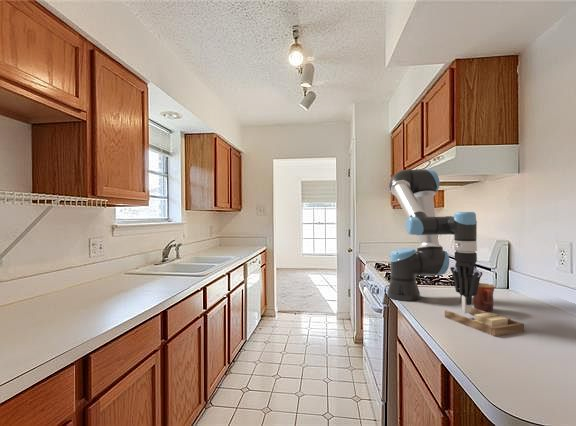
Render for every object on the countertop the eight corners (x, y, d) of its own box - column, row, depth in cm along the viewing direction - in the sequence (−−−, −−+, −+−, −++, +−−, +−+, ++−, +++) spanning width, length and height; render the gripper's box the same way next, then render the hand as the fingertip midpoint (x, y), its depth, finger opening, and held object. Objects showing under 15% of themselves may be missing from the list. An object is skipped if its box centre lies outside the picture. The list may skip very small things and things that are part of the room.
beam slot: (444, 317, 124) (444, 309, 124) (471, 313, 128) (471, 306, 128) (494, 336, 104) (494, 327, 104) (524, 331, 108) (524, 323, 108)
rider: (474, 325, 115) (474, 314, 115) (489, 323, 117) (489, 312, 117) (492, 332, 108) (491, 319, 108) (507, 329, 110) (507, 317, 110)
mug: (468, 306, 138) (467, 282, 138) (490, 306, 137) (489, 283, 137) (478, 314, 127) (478, 288, 127) (503, 315, 125) (502, 289, 125)
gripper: (444, 250, 128) (445, 308, 128) (472, 254, 115) (473, 319, 115) (459, 249, 130) (460, 306, 130) (488, 253, 118) (488, 316, 118)
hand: (466, 312), depth 123 cm, fingers closed
